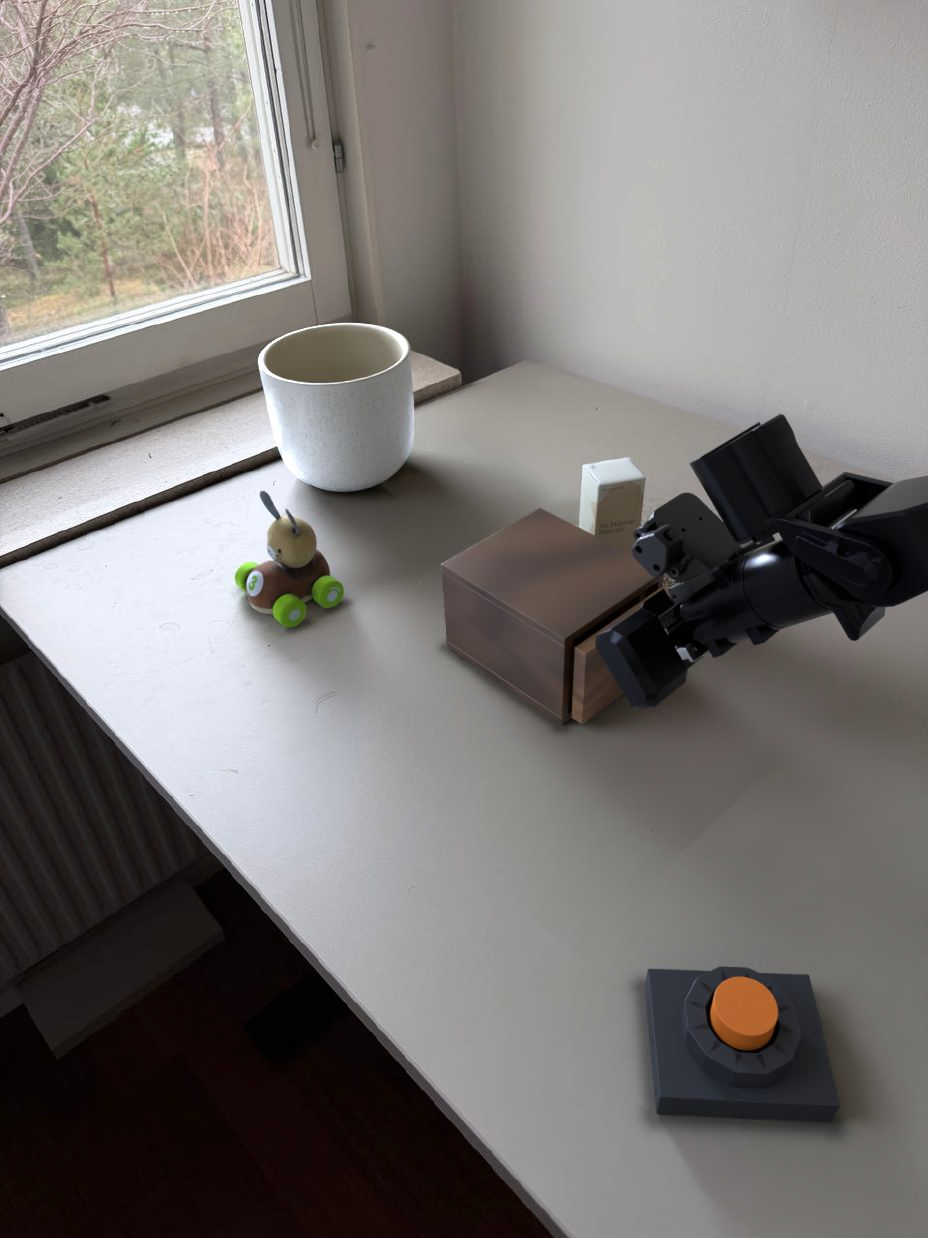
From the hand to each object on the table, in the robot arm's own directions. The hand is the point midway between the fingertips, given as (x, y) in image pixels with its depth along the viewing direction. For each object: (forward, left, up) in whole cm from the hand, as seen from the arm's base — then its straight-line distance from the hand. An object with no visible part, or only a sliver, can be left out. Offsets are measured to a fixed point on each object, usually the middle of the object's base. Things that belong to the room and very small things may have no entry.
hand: (634, 638), depth 77 cm
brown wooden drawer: (+5, -4, -6) cm, 9 cm away
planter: (+31, -39, -7) cm, 50 cm away
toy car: (+33, -14, -7) cm, 37 cm away
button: (-4, +31, -3) cm, 31 cm away
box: (+1, -20, -7) cm, 22 cm away
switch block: (-4, +31, -7) cm, 32 cm away
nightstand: (+7, -6, -7) cm, 12 cm away
